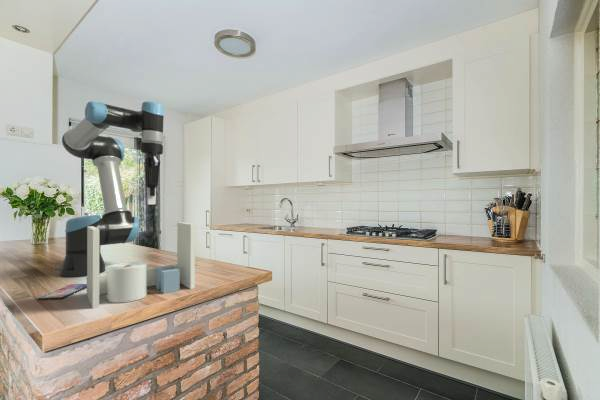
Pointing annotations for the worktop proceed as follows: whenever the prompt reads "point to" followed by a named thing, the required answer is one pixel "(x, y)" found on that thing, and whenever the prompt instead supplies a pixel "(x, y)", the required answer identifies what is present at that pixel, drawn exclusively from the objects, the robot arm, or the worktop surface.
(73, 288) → the smartphone
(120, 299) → the toilet tissue
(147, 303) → the worktop surface
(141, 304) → the worktop surface
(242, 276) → the worktop surface
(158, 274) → the paddle block
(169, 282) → the paddle block
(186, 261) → the panel frame
